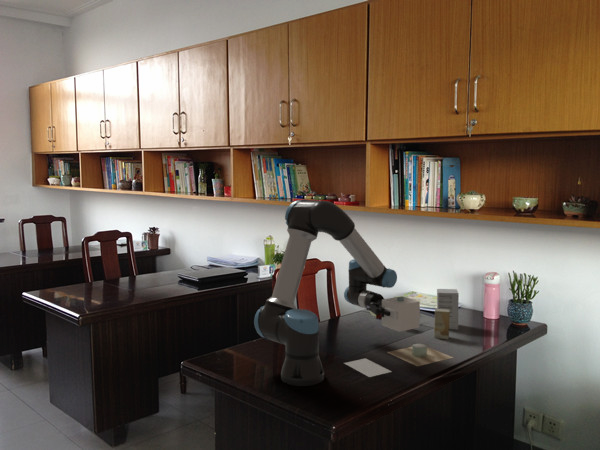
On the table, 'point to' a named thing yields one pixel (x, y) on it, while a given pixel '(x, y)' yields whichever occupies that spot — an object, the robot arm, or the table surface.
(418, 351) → the pale green cylinder
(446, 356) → the birch board
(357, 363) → the grey mat
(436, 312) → the skincare box
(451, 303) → the supplement box
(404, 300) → the dust cover
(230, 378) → the table surface
